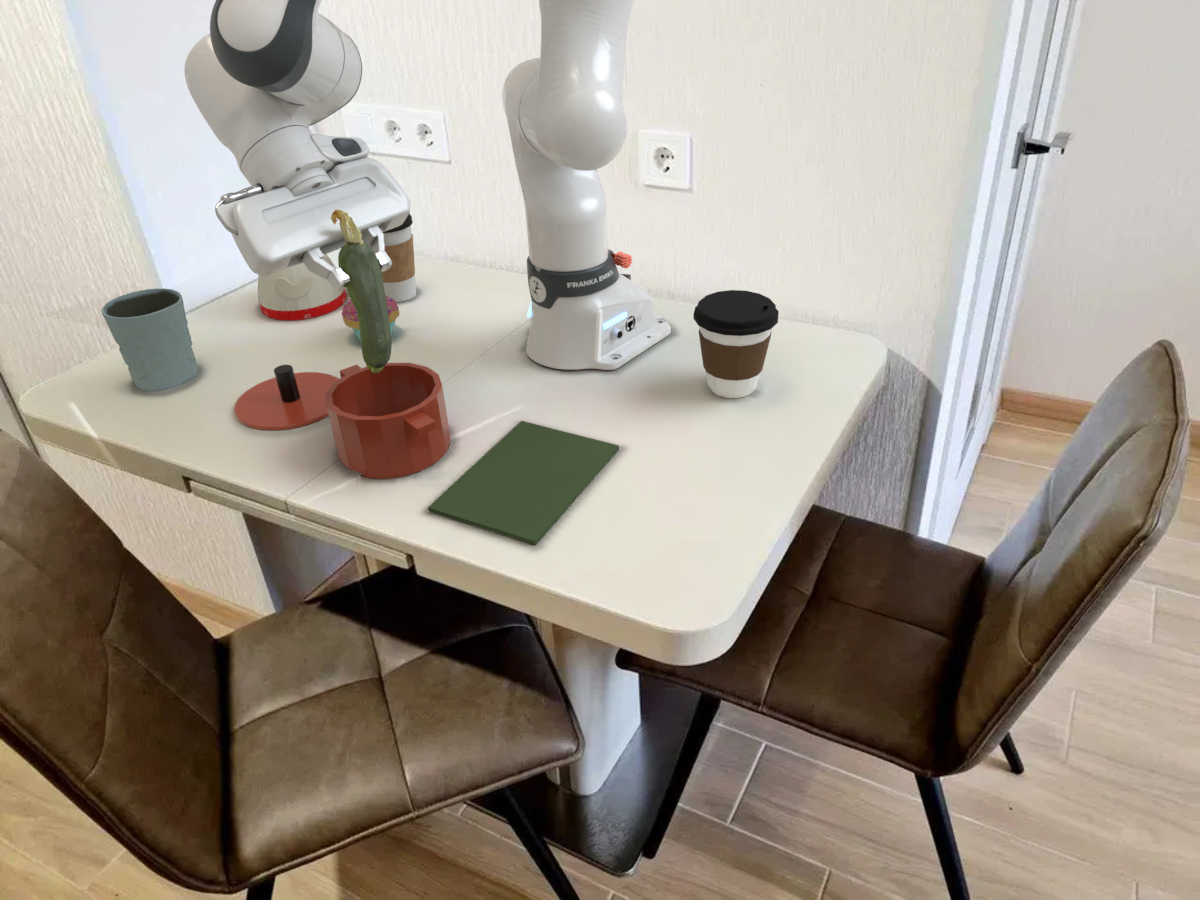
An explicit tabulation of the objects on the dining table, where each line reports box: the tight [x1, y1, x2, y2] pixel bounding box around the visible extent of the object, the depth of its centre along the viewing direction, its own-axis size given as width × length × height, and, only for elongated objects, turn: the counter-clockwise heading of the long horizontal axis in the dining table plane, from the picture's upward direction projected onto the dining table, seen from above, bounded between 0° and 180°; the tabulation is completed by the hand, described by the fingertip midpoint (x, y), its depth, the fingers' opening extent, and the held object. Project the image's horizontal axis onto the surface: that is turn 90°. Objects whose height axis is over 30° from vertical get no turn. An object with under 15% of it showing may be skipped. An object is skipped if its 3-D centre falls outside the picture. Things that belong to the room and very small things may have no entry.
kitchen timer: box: [257, 253, 347, 322], centre depth 143 cm, size 14×14×15 cm
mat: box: [427, 420, 620, 546], centre depth 103 cm, size 20×14×1 cm
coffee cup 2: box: [692, 289, 780, 399], centre depth 115 cm, size 11×11×12 cm
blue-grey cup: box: [100, 288, 199, 392], centre depth 123 cm, size 10×10×12 cm
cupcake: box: [341, 296, 400, 342], centre depth 132 cm, size 9×8×12 cm
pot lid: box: [234, 364, 340, 431], centre depth 118 cm, size 15×15×6 cm
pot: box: [325, 362, 452, 480], centre depth 107 cm, size 14×19×8 cm
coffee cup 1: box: [370, 212, 417, 303], centre depth 144 cm, size 8×8×15 cm
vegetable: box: [331, 209, 392, 373], centre depth 98 cm, size 4×4×20 cm
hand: (365, 277), depth 97 cm, fingers closed on vegetable, 4 cm apart
